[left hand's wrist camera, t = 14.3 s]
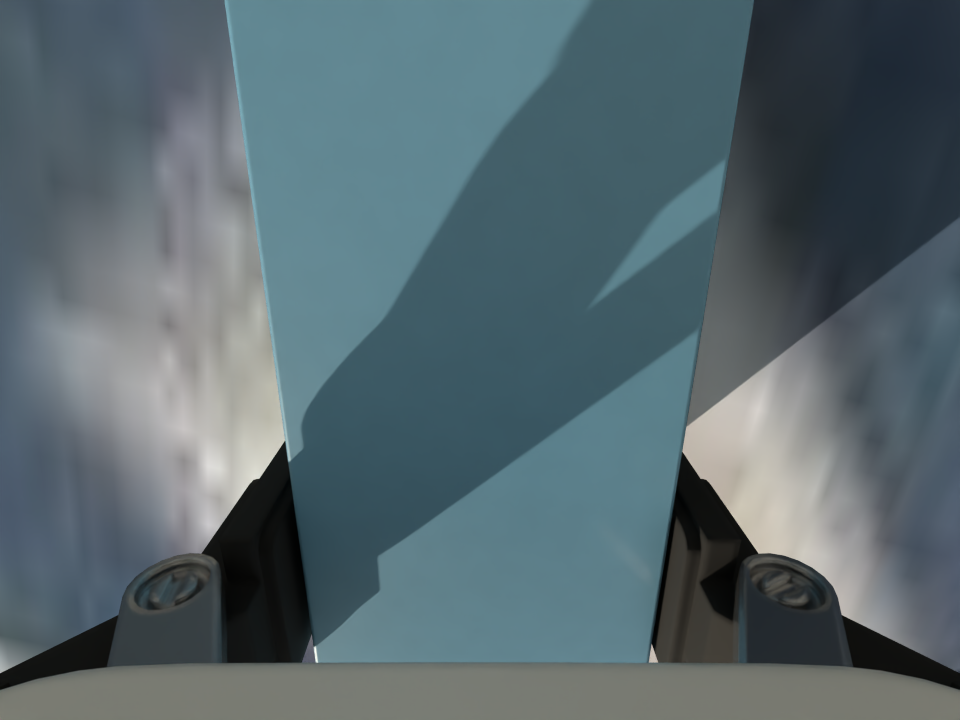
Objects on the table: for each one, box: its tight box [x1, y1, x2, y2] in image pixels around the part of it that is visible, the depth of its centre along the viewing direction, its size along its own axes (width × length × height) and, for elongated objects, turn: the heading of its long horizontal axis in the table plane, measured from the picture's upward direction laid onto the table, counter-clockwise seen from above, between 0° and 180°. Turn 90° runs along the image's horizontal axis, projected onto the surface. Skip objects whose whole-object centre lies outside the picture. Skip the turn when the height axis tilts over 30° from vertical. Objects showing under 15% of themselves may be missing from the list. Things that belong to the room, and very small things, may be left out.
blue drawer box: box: [225, 0, 754, 663], centre depth 11 cm, size 16×6×8 cm, turn 0°
